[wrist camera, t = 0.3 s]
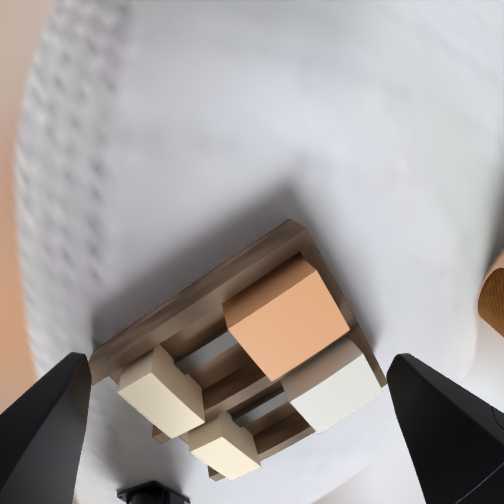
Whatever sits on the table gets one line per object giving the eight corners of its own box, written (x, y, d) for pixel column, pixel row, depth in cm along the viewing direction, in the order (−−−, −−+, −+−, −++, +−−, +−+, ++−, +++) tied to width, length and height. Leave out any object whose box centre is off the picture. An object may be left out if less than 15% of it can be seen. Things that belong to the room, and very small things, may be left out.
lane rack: (212, 456, 28) (215, 481, 24) (92, 351, 22) (82, 376, 19) (370, 363, 28) (387, 383, 24) (289, 218, 22) (306, 228, 19)
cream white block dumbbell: (225, 448, 26) (231, 480, 22) (187, 417, 24) (189, 452, 20) (362, 366, 26) (383, 393, 22) (338, 325, 24) (361, 351, 20)
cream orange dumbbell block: (171, 403, 24) (171, 438, 20) (125, 358, 22) (116, 392, 18) (328, 307, 24) (351, 332, 20) (293, 248, 22) (314, 266, 18)
